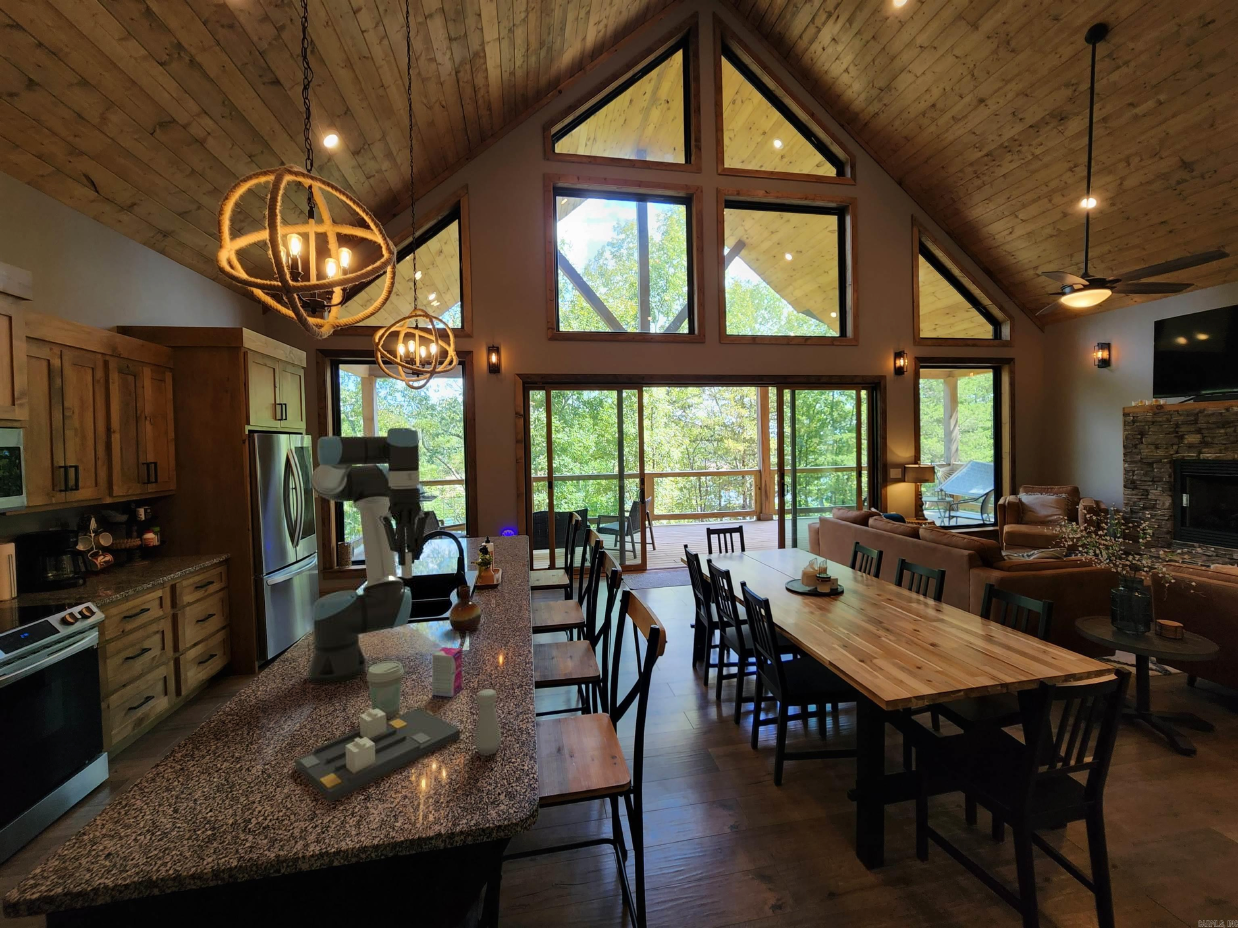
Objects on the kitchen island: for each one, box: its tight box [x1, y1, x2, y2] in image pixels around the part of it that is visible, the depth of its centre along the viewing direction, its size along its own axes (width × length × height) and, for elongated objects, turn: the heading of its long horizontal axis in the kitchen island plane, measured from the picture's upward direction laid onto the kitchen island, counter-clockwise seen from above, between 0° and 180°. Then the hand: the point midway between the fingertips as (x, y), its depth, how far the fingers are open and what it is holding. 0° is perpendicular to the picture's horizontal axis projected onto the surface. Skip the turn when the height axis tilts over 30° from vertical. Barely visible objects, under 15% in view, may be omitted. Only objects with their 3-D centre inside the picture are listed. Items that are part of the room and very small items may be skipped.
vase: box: [448, 585, 482, 633], centre depth 195 cm, size 11×11×15 cm
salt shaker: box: [473, 688, 502, 757], centre depth 116 cm, size 6×6×13 cm
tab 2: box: [346, 737, 375, 773], centre depth 108 cm, size 4×4×5 cm
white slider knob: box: [359, 708, 387, 739], centre depth 120 cm, size 4×4×5 cm
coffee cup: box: [365, 660, 405, 721], centre depth 133 cm, size 8×8×12 cm
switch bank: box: [294, 706, 461, 804], centre depth 116 cm, size 17×28×3 cm, turn 140°
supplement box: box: [432, 646, 463, 699], centre depth 144 cm, size 6×6×12 cm
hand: (406, 576), depth 140 cm, fingers closed
